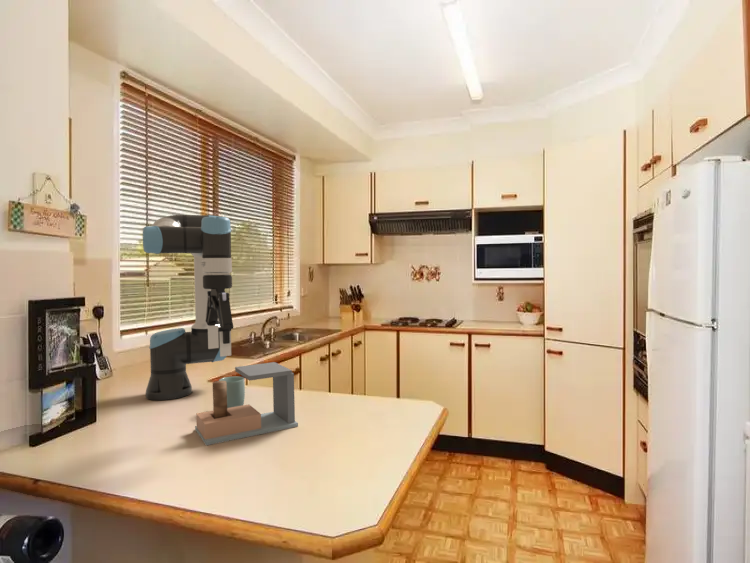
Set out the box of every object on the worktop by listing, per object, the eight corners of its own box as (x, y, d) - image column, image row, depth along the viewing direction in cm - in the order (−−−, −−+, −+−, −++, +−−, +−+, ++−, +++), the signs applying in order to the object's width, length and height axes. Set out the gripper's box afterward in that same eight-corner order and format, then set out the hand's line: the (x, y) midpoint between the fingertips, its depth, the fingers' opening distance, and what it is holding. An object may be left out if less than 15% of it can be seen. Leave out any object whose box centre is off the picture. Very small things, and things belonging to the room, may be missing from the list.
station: (195, 429, 130) (193, 372, 130) (280, 413, 143) (279, 361, 143) (206, 445, 118) (204, 382, 118) (297, 426, 131) (296, 369, 131)
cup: (237, 414, 143) (236, 382, 142) (214, 413, 144) (213, 381, 144) (249, 407, 150) (248, 376, 150) (227, 406, 152) (226, 375, 152)
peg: (225, 422, 129) (224, 380, 129) (229, 426, 126) (227, 382, 126) (212, 425, 127) (211, 381, 127) (215, 429, 124) (214, 384, 124)
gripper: (193, 274, 134) (195, 346, 135) (213, 274, 113) (216, 361, 114) (220, 273, 138) (222, 344, 139) (244, 274, 117) (246, 357, 118)
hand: (219, 352), depth 126 cm, fingers open, 13 cm apart
